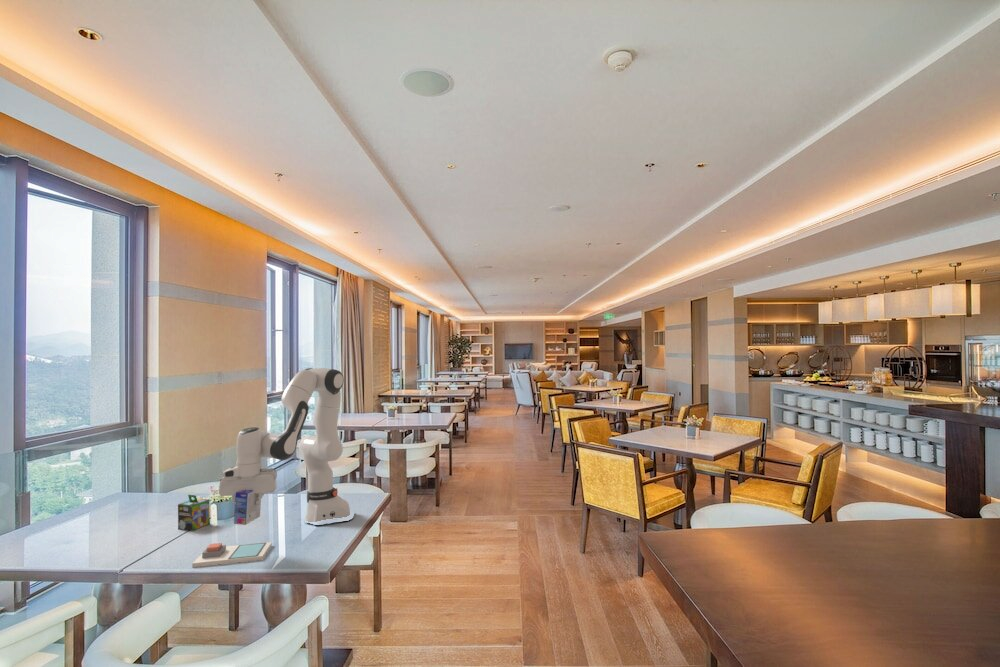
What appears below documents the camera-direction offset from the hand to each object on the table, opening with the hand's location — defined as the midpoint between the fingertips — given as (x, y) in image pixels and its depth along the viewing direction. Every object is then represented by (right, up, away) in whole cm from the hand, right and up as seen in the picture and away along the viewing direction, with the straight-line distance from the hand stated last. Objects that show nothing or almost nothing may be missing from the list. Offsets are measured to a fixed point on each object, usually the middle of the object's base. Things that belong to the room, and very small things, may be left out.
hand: (248, 505), depth 186 cm
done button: (-11, -16, -3) cm, 20 cm away
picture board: (-5, -19, -2) cm, 20 cm away
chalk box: (-42, -22, +31) cm, 56 cm away
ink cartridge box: (0, -6, 0) cm, 6 cm away
